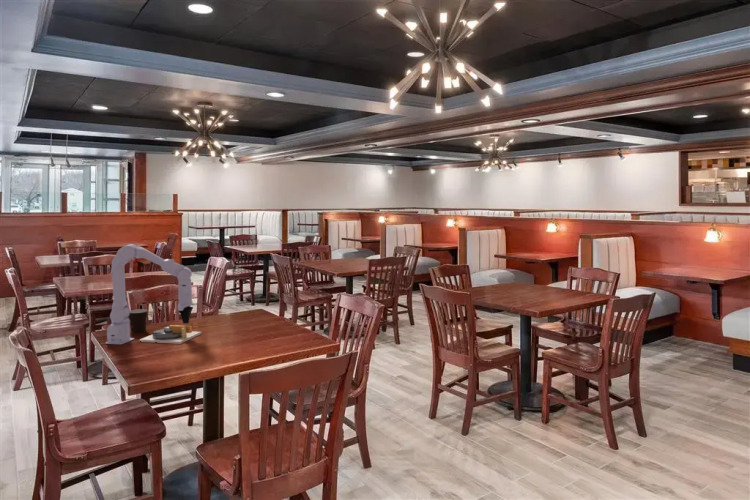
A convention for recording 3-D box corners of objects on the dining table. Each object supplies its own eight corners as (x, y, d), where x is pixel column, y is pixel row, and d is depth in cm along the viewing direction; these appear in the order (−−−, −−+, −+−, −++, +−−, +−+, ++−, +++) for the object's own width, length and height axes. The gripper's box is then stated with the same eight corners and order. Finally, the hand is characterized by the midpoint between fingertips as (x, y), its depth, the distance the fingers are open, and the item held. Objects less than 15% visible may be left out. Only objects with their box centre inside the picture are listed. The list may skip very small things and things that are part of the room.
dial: (146, 338, 238) (145, 328, 238) (163, 330, 252) (163, 321, 251) (183, 339, 235) (182, 329, 235) (198, 332, 249) (198, 322, 248)
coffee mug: (143, 333, 252) (142, 313, 251) (125, 333, 252) (124, 313, 251) (154, 327, 264) (153, 308, 263) (136, 327, 264) (136, 308, 263)
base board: (180, 343, 234) (179, 331, 234) (139, 341, 238) (139, 329, 237) (201, 333, 252) (200, 322, 251) (163, 331, 256) (162, 320, 255)
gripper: (188, 296, 235) (189, 326, 236) (198, 291, 250) (199, 319, 251) (172, 296, 235) (173, 326, 236) (183, 291, 249) (184, 319, 251)
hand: (185, 323), depth 243 cm, fingers closed
